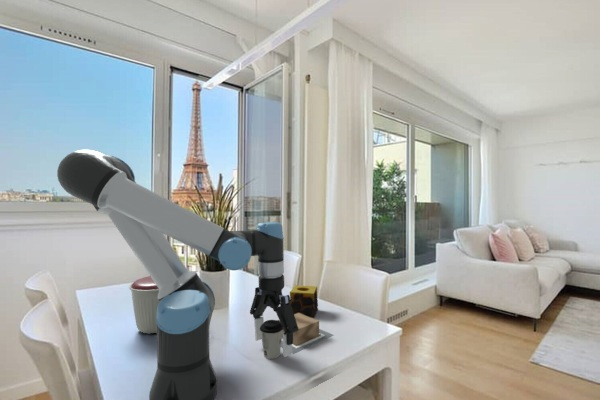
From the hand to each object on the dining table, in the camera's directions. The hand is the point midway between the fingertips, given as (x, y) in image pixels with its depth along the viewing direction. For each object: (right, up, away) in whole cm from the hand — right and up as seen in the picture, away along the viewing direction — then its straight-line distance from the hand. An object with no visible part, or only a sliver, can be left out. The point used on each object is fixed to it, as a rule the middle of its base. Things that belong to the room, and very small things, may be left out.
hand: (273, 346), depth 91 cm
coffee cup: (0, -3, 0) cm, 3 cm away
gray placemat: (+7, -3, +12) cm, 15 cm away
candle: (+10, -3, +33) cm, 35 cm away
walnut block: (+7, -2, +12) cm, 14 cm away
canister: (-43, -3, +20) cm, 48 cm away
